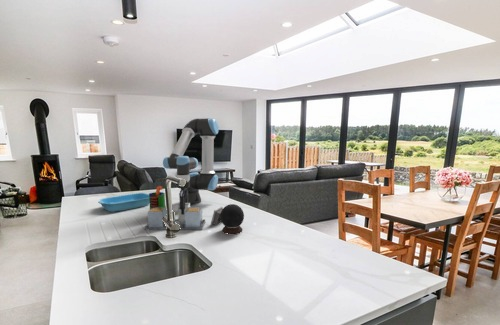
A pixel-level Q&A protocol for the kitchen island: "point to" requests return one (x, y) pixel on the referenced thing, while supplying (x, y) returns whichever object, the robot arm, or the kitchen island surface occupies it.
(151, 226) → the rail
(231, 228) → the black ball on stand
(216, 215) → the electrical switch
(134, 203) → the casserole dish
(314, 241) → the kitchen island surface
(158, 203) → the motor
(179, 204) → the block
